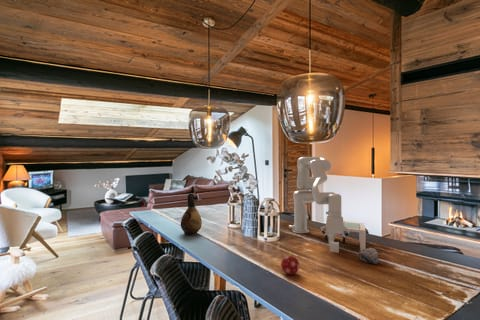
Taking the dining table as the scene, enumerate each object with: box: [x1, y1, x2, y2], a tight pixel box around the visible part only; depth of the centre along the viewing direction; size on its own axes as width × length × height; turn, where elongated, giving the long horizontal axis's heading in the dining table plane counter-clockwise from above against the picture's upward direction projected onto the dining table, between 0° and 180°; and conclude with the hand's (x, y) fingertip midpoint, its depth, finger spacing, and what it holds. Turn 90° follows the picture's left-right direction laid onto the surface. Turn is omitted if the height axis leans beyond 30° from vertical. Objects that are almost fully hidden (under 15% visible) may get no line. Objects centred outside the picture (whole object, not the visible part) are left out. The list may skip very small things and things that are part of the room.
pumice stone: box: [358, 247, 380, 265], centre depth 152 cm, size 10×8×10 cm
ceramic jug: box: [180, 192, 203, 237], centre depth 205 cm, size 17×15×30 cm
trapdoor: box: [344, 223, 359, 229], centre depth 183 cm, size 15×14×1 cm
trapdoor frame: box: [328, 220, 367, 251], centre depth 183 cm, size 22×21×12 cm
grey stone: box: [329, 241, 340, 254], centre depth 169 cm, size 5×5×5 cm
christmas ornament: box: [280, 252, 300, 276], centre depth 134 cm, size 9×9×10 cm
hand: (335, 242), depth 168 cm, fingers open, 9 cm apart
